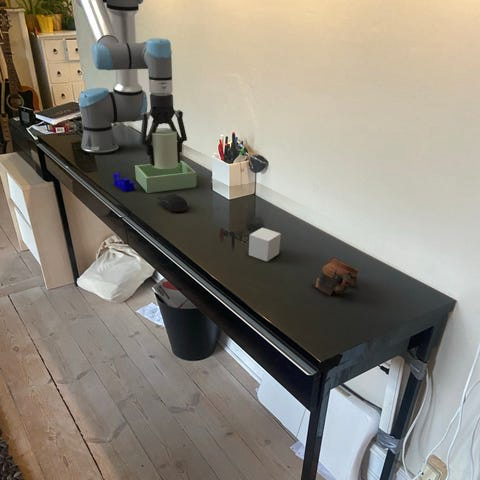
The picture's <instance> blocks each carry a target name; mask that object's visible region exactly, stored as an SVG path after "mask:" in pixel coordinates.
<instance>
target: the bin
mask: <svg viewBox="0 0 480 480" xmlns="http://www.w3.org/2000/svg"><path fill="white" fill-rule="evenodd" d="M134 170H135V171H134V172H135V181H136V182H137V183H138V184H139V185H140V187H142V189H143V190H144V191H145V192H146V193H147V194H150V193H158V192H166V191H167V192H168V191H174V190H183V189H191V188H197V172H196V171H195V170H194V169H193V168H192V167H191V166H190V165H188V164H187V163H186V162H185V161H183V160H180V163H178V166H177V167H176V168H173V169H157V168H154V167H153V166H152V165H151V164H150V163H148V164H137V165H134Z"/></svg>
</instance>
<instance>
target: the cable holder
mask: <svg viewBox="0 0 480 480" xmlns="http://www.w3.org/2000/svg"><path fill="white" fill-rule="evenodd" d="M112 175H113V183H114V186H115V187H117V188H118V189H120V190H121V191H122V192H125V193H127V192H131V191H135V182H133V181H131V179H130V178H128V177H126V178H122V174H121V173H120V172H117V173H113V174H112Z"/></svg>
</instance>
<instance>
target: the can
mask: <svg viewBox="0 0 480 480" xmlns="http://www.w3.org/2000/svg"><path fill="white" fill-rule="evenodd" d="M177 131H178V130H177ZM177 131H175V132H173V131H172V130H171V128H170V127H169V128H168V127H159V128H158V127H157V129H156V132H155V133H152V139H153V140H152V142H151V145H152V146H153V155H154V165H153V167H154V168H157V169H173V168H176V167H177V166H178V158H177Z"/></svg>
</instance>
